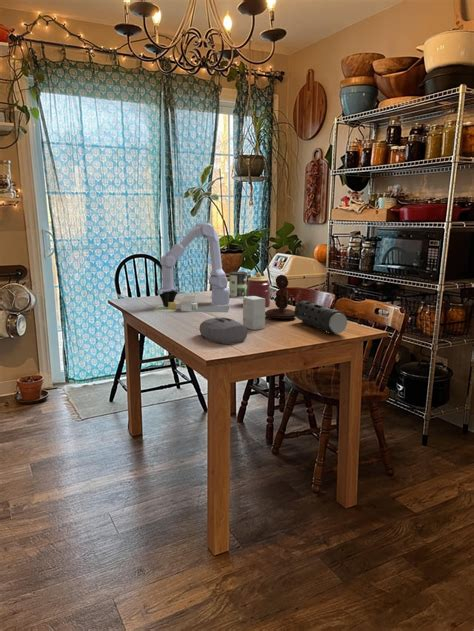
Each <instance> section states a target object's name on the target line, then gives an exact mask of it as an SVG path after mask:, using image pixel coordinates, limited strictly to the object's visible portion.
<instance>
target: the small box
mask: <svg viewBox="0 0 474 631" xmlns="http://www.w3.org/2000/svg"><path fill="white" fill-rule="evenodd" d="M265 312H266V307H265V298H261V297H257V296H249V297H243V298H242V325H244V326H245V327H246V329H250V330H252V331H255V330H256V331H257V330H263V329H266V315H265Z"/></svg>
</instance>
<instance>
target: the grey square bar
mask: <svg viewBox="0 0 474 631" xmlns="http://www.w3.org/2000/svg"><path fill="white" fill-rule="evenodd" d="M180 303H181V311H185V312H184V313H193V312H192V310H193V303H196V301H195V296H192V295H189V296H187V295H184V296H183V298H182V299H181V301H180Z"/></svg>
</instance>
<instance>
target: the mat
mask: <svg viewBox="0 0 474 631" xmlns="http://www.w3.org/2000/svg"><path fill="white" fill-rule="evenodd" d="M229 309H230V306H229V305H197V310H192V312H191V313H229V311H230V310H229ZM152 312H168V313H171V312H176V313H177V312H179V313H180V312H181V313H182V312H184V313H186V312H185V311H181V309H167V307H164V305H163V304H158V305H157V306H156V307H155V308H154V309H153V310H152Z"/></svg>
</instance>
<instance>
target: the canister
mask: <svg viewBox="0 0 474 631" xmlns="http://www.w3.org/2000/svg"><path fill="white" fill-rule="evenodd" d="M269 281H270V278H268V277H267V276H266V275H262V274H261V272H256V274H255V275H251V276H249V277H247V283H246V285H247V289H246V297H249V296H257V297H261V298H265V308H267V307H270V306H271V287H270V286H271V282H269Z"/></svg>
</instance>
